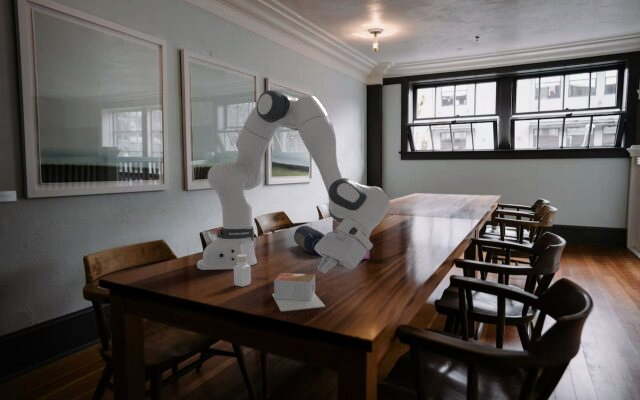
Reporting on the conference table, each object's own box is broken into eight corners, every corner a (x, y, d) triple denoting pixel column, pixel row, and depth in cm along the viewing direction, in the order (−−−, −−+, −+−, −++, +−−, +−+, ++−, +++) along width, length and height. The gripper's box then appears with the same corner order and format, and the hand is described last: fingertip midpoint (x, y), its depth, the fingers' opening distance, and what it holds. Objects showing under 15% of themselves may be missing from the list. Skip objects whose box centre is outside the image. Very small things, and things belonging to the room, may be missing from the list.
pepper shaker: (242, 287, 124) (241, 257, 124) (233, 285, 127) (232, 255, 126) (251, 284, 128) (250, 255, 127) (242, 282, 130) (242, 253, 129)
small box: (311, 281, 110) (273, 280, 112) (311, 301, 111) (273, 299, 112) (315, 273, 118) (280, 272, 120) (315, 292, 119) (280, 290, 120)
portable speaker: (292, 245, 189) (291, 224, 188) (312, 244, 192) (312, 223, 191) (307, 257, 165) (307, 233, 164) (329, 255, 168) (329, 232, 168)
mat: (280, 311, 104) (280, 310, 104) (272, 294, 117) (272, 293, 117) (325, 306, 107) (325, 305, 107) (311, 291, 120) (311, 290, 120)
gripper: (327, 222, 125) (299, 256, 122) (362, 232, 107) (330, 272, 103) (340, 235, 127) (312, 269, 124) (376, 247, 109) (345, 287, 106)
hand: (320, 271), depth 113 cm, fingers closed
